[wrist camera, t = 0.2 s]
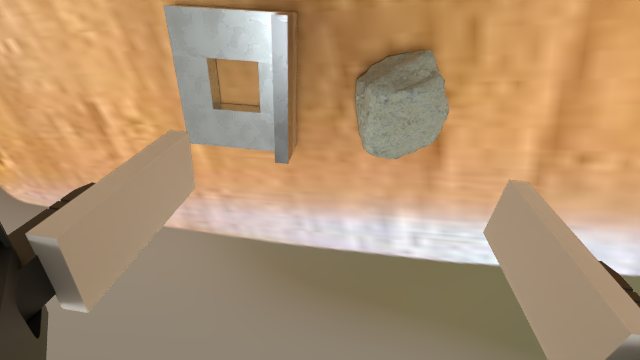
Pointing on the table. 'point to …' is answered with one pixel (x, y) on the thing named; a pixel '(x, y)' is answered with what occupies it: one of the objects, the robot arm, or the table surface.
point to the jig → (236, 44)
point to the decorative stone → (401, 104)
